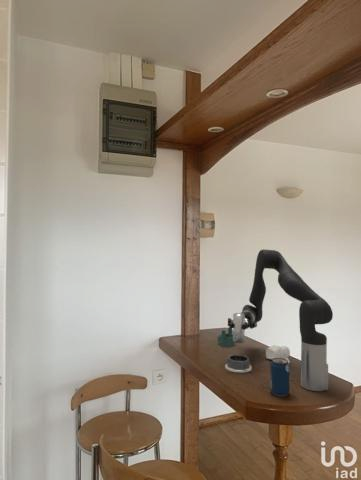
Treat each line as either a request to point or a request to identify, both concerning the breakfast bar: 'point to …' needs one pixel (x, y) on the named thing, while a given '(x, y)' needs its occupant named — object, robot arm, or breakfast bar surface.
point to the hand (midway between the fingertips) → (237, 326)
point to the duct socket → (238, 364)
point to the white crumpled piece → (278, 352)
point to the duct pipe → (238, 327)
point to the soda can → (279, 377)
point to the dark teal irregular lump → (226, 338)
